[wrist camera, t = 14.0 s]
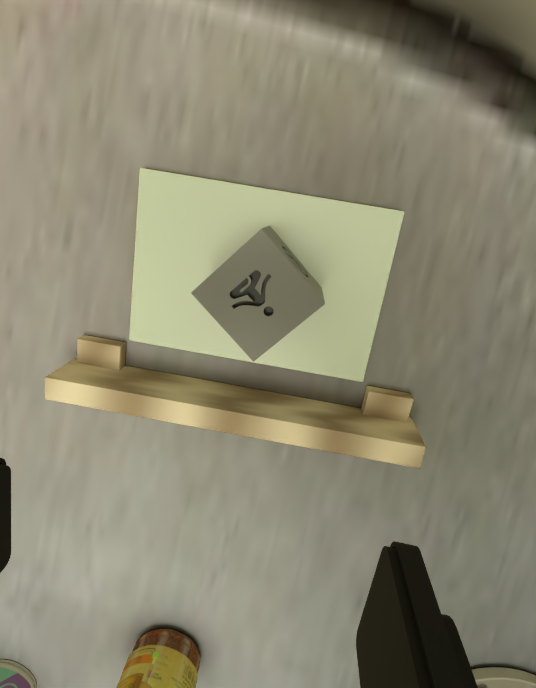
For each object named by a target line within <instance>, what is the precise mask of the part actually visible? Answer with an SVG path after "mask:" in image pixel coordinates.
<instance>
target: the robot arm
mask: <svg viewBox="0 0 536 688" xmlns="http://www.w3.org/2000/svg"><path fill="white" fill-rule="evenodd" d="M10 555H11V469H10V467H9V466H6V462H5V460H4V459H2V458H0V573H1V571H2V570H3V569H4V568H5V566H6V565H7V563H8V561H9V559H10ZM356 648H357V658H358V667H359V677H360V686H361V688H536V675H533V674H530V673H527V672H525V671H521V670H516V669H511V668H501V667H488V668H477V669H473V670H471V667H470V664H469V661H468V659H467V656H466V653H465V650H464V647H463V645H462V642H461V639H460V636H459V633H458V631H457V628H456V626H455V623H454V621H453V620H452V618H451V617H450V616H447V615H442V614H441V612H440V609H439V606H438V603H437V600H436V597H435V594H434V591H433V588H432V585H431V582H430V579H429V576H428V573H427V570H426V567H425V564H424V561H423V558H422V555H421V552H420V550H419V548H418V547H417V546H414V545H409V544H404V543H399V542H392V544H391V546H390V547H387V546H384V547H383V549H382V552H381V555H380V558H379V561H378V565H377V568H376V571H375V575H374V578H373V581H372V584H371V588H370V591H369V594H368V597H367V601H366V604H365V607H364V611H363V614H362V617H361V620H360V624H359V627H358V631H357V638H356Z"/></svg>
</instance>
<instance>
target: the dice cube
mask: <svg viewBox="0 0 536 688" xmlns="http://www.w3.org/2000/svg"><path fill="white" fill-rule="evenodd" d="M191 294H192V295H193V296H194V297H195V298H196V299H197V300H198V301H199V302H200V303H201V305H202V306H203V307H204V308H205V309H206V310H207V311H208V312H209V313H210V315H211V316H212V317H213V318H214V319H215V320H216V321H217V322H218V323H219V324H220V326H221V327H222V328H223V329H224V330H225V331H226V332H227V333H228V334H229V335H230V337H231V338H232V339H233V340H234V341H235V342H236V343H237V344H238V345H239V346H240V348H241V349H242V350H243V351H244V352H245V353H246V354H247V355H248V356H249V357H250V359H251V360H252V361H253V362H254V361H255V360H256V359H258V358H259V357H260V356H261V355H263V354H264V353H265V352H266V351H267V350H269V349H270V348H271V347H272V346H274V345H275V344H276V343H277V342H279V341H280V340H281V339H282V338H284V337H285V336H286V335H287V334H289V333H290V332H291V331H292V330H293V329H295V328H296V327H297V326H298V325H300V324H301V323H302V322H303V321H305V320H306V319H307V318H308V317H310V316H311V315H312V314H313V313H314V312H316V311H317V310H318V309H319V308H321V307H322V306H323V305H324V304H325V301H324V296H323V291H322V287H321V286H320V285H319V284H318V282H317V281H316V280H315V279H314V278H313V277H312V275H311V274H310V273H309V272H308V271H307V269H306V268H305V267H304V266H303V265H302V263H301V262H300V261H299V260H298V259H297V257H296V256H295V255H294V254H293V253H292V251H291V250H290V249H289V248H288V247H287V245H286V244H285V243H284V242H283V241H282V240H281V238H280V237H279V236H278V235H277V234H276V232H275V231H274V230H273V229H272V228H271V226H270V225H269V226H267V227H264V228H262V229H260V230H259V231H258V232H257V233H256V234H255V235H254V236H253V237H252V238H251V239H249V240H248V241H247V242H246V243H245V244H244V245H243V246H242V247H241V248H240V249H238V250H237V251H236V252H235V253H234V254H233V255H232V256H231V257H230V258H229V259H227V260H226V261H225V262H224V263H223V264H222V265H221V266H220V267H219V268H218V269H216V270H215V271H214V272H213V273H212V274H211V275H210V276H209V277H208V278H207V279H205V280H204V281H203V282H202V283H201V284H200V285H199V286H198V287H197V288H196V289H195V290H193V291H192V292H191Z"/></svg>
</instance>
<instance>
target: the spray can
mask: <svg viewBox="0 0 536 688" xmlns="http://www.w3.org/2000/svg"><path fill="white" fill-rule="evenodd" d="M36 687H37V685H36V680H35V678H34V676H33V675H32V673H31V672H30V671H29V670H28V669H27V668H25V667H24V666H22V665H21V664H19V663H16V662H14V661H10V660H4V659H0V688H36Z"/></svg>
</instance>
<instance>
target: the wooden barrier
mask: <svg viewBox="0 0 536 688" xmlns="http://www.w3.org/2000/svg"><path fill="white" fill-rule="evenodd" d="M125 357H126V342H121V341H116V340H110V339H105V338H99V337H94V336H88V335H84V336H82V337H80V338H78V345H77V357H76V358H75V359H73V360H72V361H70V362H69V363H67V364H65V365H64V366H62V367H61V368H59V369H58V370H56V371H54V372H53V373H51V374H50V375H48V376H46V377H45V399H48V400H53V401H59V402H64V403H70V404H75V405H80V406H85V407H91V408H96V409H102V410H107V411H112V412H118V413H124V414H129V415H134V416H140V417H145V418H151V419H156V420H161V421H167V422H172V423H178V424H183V425H188V426H194V427H199V428H205V429H210V430H215V431H221V432H226V433H231V434H237V435H242V436H248V437H253V438H258V439H264V440H269V441H275V442H280V443H285V444H291V445H296V446H302V447H307V448H312V449H318V450H323V451H329V452H334V453H339V454H345V455H350V456H355V457H361V458H366V459H372V460H377V461H382V462H388V463H393V464H399V465H404V466H410V467H415V468H420V466H421V463H422V460H423V456H424V453H425V450H426V446H425V444H424V442H423V440H422V438H421V436H420V434H419V432H418V430H417V428H416V426H415V424H414V422H413V420H412V418H411V417H409V414H410V411H411V407H412V404H413V400H414V399H413V397H412V395H411V394H410V393H405V392H400V391H394V390H389V389H383V388H378V387H372V386H367V387H366V391H365V395H364V399H363V403H362V407H361V408H357V407H351V406H346V405H340V404H335V403H329V402H324V401H318V400H313V399H307V398H302V397H296V396H291V395H285V394H280V393H274V392H268V391H263V390H257V389H252V388H246V387H241V386H235V385H230V384H224V383H219V382H213V381H208V380H202V379H197V378H191V377H186V376H180V375H175V374H169V373H164V372H158V371H153V370H147V369H142V368H136V367H131V366H125Z"/></svg>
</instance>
